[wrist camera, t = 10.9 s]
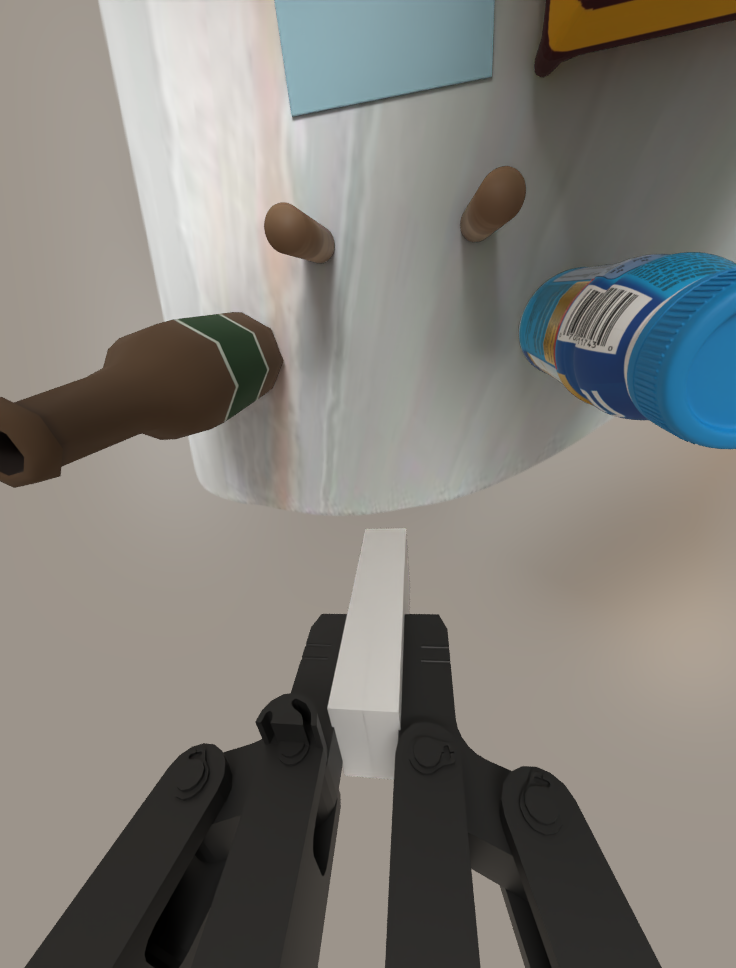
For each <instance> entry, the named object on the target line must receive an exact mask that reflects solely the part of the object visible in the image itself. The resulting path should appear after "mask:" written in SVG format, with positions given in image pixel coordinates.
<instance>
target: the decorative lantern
mask: <svg viewBox="0 0 736 968" xmlns="http://www.w3.org/2000/svg"><path fill="white" fill-rule="evenodd" d="M732 20H736V0H546V8H545V17H544V25H543V33H542V39H541V42H540V45H539V49H538V52H537V55H536V58H535V64H534V68H535V73H536V75H537V76H539V77H545V76H548V75H549V74H550V73H551V72H552V71H553V70H554V69H555V68H556V67H557V66H558V65H559V64H560V63H561V62H564V61H566V60H568V59H571V58H573V57H576V56H578V55H582V54H586V53H590V52H595V51H599V50H604V49H608V48H613V47H617V46H621V45H626V44H630V43H635V42H639V41H644V40H648V39H652V38H657V37H661V36H666V35H670V34H675V33H679V32H684V31H688V30H692V29H697V28H701V27H706V26H710V25H715V24H719V23H723V22H728V21H732Z"/></svg>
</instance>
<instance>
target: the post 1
mask: <svg viewBox="0 0 736 968" xmlns="http://www.w3.org/2000/svg"><path fill="white" fill-rule="evenodd" d="M264 229H265V234H266V237H267V240H268V242H269V243H270V245H271V246H272V247H273V248H274V249H275V250H276V251H278V252H280V253H283V254H287V255H290V256H294V257H298V258H301V259H305V260H308V261H312V262H316V263H324V262H326V261H328V260H329V259H330V258H331V257H332V255H333V253H334V248H335V243H334V238H333V236H332V234H331V233H330V231H329V230H328V229H326V228H325V227H323V226H322V225H321V224H319V223H318V222H316V221H315V220H313V219H312V218H310V217H309V216H308V215H306V214H305V213H303V212H302V211H300V210H299V209H297V208H296V207H294V206H293V205H291V204H289V203H278V204H275V205H274V206H272V207H271V208H270V210H269V211H268V213H267V215H266V218H265V223H264Z"/></svg>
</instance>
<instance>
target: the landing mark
mask: <svg viewBox="0 0 736 968" xmlns="http://www.w3.org/2000/svg"><path fill="white" fill-rule="evenodd" d="M494 3H495V0H275V7H276V14H277V20H278V27H279V34H280V41H281V47H282V54H283V61H284V67H285V74H286V81H287V88H288V94H289V101H290V108H291V114H292V117H294V116H299V115H304V114H309V113H314V112H319V111H324V110H329V109H334V108H339V107H344V106H349V105H354V104H359V103H364V102H369V101H374V100H379V99H384V98H389V97H394V96H399V95H404V94H409V93H414V92H419V91H424V90H429V89H434V88H439V87H444V86H449V85H454V84H459V83H464V82H469V81H474V80H479V79H484V78H489V77H492V58H493V31H494Z"/></svg>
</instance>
